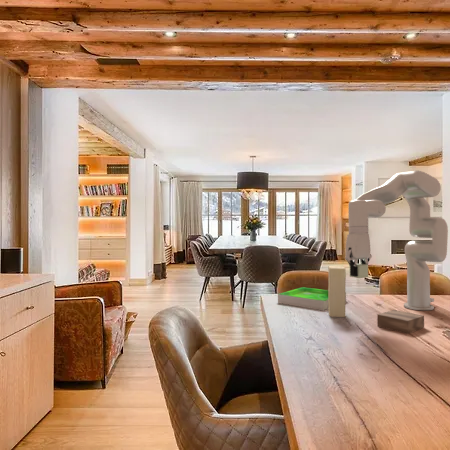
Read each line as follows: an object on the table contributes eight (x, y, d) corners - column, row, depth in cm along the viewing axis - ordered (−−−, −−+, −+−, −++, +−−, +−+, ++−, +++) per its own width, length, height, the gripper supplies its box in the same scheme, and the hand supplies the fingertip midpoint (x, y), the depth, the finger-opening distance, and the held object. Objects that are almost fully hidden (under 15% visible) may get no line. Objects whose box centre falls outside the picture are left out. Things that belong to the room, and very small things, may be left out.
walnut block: (394, 322, 151) (394, 309, 151) (424, 328, 141) (424, 315, 141) (377, 327, 144) (377, 314, 144) (407, 334, 134) (407, 320, 134)
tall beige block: (347, 317, 157) (347, 268, 157) (329, 316, 158) (329, 268, 158) (345, 313, 165) (345, 266, 165) (328, 312, 166) (328, 265, 166)
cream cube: (358, 275, 153) (357, 263, 153) (368, 277, 148) (368, 264, 148) (349, 276, 150) (349, 264, 150) (359, 278, 146) (359, 265, 146)
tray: (277, 303, 186) (277, 294, 186) (302, 296, 205) (302, 287, 205) (323, 311, 170) (323, 300, 170) (346, 302, 189) (346, 292, 189)
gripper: (364, 230, 157) (365, 272, 157) (336, 231, 148) (336, 276, 148) (380, 230, 150) (380, 274, 150) (351, 231, 141) (351, 278, 142)
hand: (358, 275), depth 149 cm, fingers closed on cream cube, 4 cm apart
